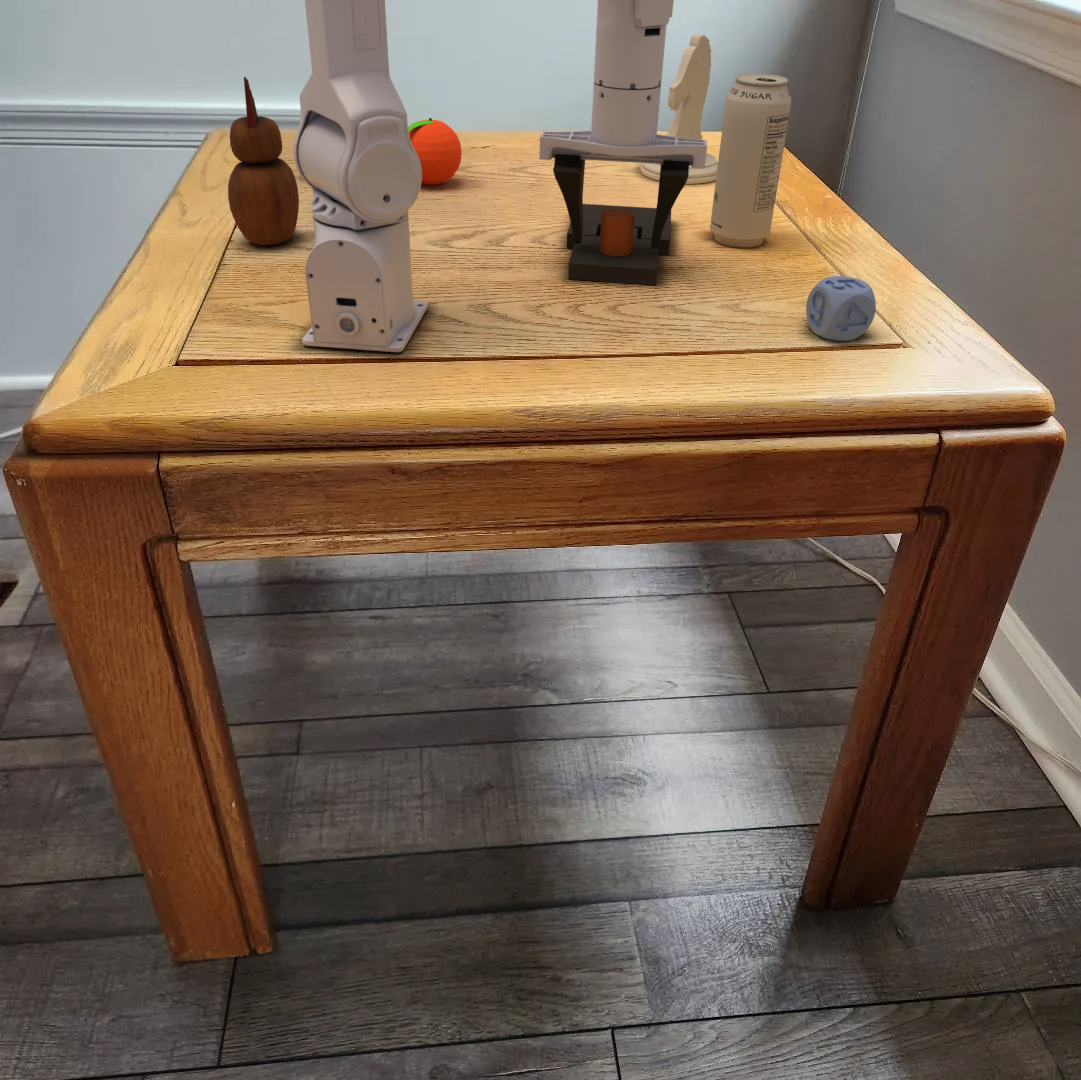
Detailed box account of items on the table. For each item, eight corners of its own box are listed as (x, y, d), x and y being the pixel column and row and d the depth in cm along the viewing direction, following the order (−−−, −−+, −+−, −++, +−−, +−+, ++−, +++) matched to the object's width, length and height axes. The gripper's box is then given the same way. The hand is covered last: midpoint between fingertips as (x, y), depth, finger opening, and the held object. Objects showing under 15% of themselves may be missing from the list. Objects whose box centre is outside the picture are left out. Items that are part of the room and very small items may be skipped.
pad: (655, 285, 86) (661, 230, 83) (568, 279, 87) (570, 224, 84) (658, 244, 95) (663, 193, 92) (579, 239, 96) (581, 188, 93)
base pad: (668, 255, 93) (670, 239, 92) (566, 248, 94) (567, 233, 93) (670, 223, 101) (671, 208, 100) (576, 217, 102) (576, 203, 101)
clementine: (418, 197, 106) (414, 129, 102) (383, 183, 110) (378, 117, 106) (474, 185, 111) (473, 119, 106) (439, 172, 115) (436, 108, 111)
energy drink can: (724, 226, 100) (746, 69, 92) (778, 238, 98) (805, 77, 89) (698, 240, 96) (717, 78, 88) (752, 253, 94) (778, 87, 85)
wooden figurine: (284, 254, 91) (260, 82, 82) (227, 248, 92) (198, 77, 83) (311, 231, 96) (292, 68, 87) (258, 226, 97) (233, 64, 88)
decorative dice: (869, 338, 78) (881, 291, 75) (826, 343, 77) (836, 296, 74) (843, 319, 81) (854, 273, 78) (801, 324, 80) (810, 277, 77)
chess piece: (625, 173, 116) (635, 35, 107) (665, 157, 122) (678, 26, 114) (696, 188, 111) (713, 46, 102) (734, 171, 118) (753, 35, 109)
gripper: (712, 78, 83) (694, 233, 91) (547, 70, 84) (544, 224, 92) (714, 94, 77) (694, 259, 85) (537, 86, 79) (534, 248, 87)
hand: (616, 242), depth 88 cm, fingers open, 6 cm apart
